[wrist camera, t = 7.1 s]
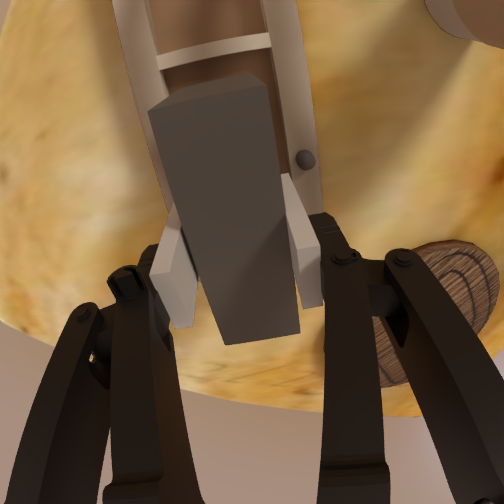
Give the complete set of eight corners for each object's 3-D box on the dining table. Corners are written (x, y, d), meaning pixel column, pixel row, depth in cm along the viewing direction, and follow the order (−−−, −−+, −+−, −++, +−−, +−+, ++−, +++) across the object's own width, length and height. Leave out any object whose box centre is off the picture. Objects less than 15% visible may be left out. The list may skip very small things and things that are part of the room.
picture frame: (250, 73, 16) (266, 84, 9) (280, 246, 23) (300, 332, 16) (177, 88, 16) (141, 113, 9) (222, 257, 23) (221, 345, 16)
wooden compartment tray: (252, -133, 8) (254, -153, 6) (318, 241, 28) (328, 265, 25) (108, -100, 9) (92, -115, 6) (196, 262, 28) (192, 288, 25)
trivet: (375, 394, 46) (378, 403, 44) (279, 332, 35) (281, 345, 33) (501, 308, 37) (507, 316, 35) (466, 193, 26) (477, 202, 24)
